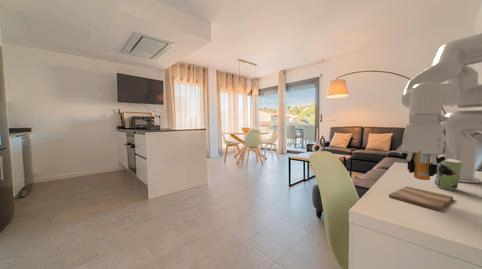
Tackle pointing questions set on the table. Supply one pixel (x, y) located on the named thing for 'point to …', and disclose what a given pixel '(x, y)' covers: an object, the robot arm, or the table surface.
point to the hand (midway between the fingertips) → (421, 173)
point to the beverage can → (448, 174)
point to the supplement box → (421, 166)
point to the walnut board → (422, 198)
